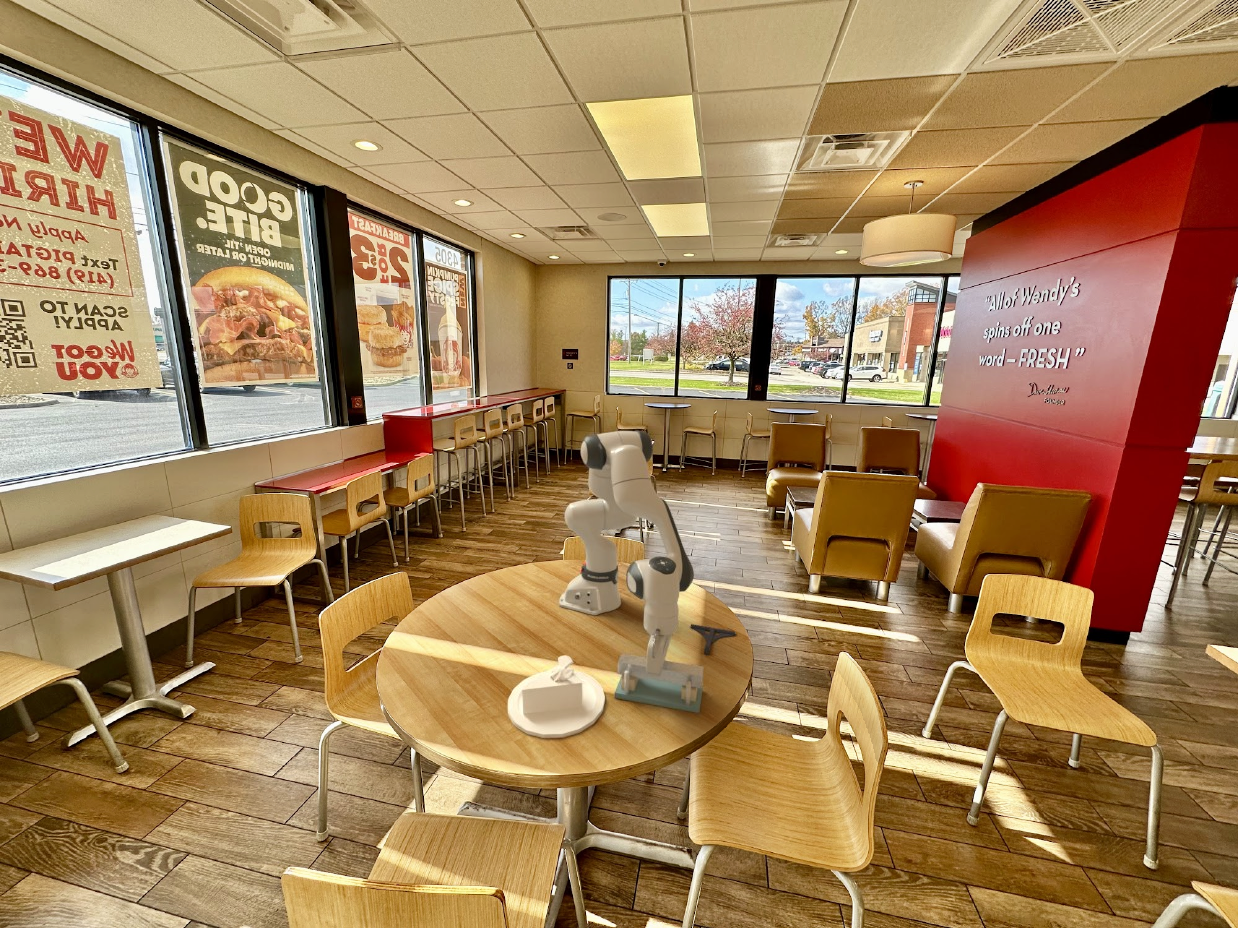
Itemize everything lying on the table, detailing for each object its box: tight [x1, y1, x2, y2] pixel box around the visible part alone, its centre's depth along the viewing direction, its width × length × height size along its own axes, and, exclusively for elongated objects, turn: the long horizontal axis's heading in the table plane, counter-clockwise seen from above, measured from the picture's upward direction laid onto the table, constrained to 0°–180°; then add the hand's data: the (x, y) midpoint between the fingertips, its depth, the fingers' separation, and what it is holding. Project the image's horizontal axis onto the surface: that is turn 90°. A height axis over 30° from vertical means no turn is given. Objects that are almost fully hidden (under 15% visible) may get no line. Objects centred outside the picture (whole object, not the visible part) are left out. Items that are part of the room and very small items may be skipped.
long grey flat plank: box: [617, 653, 704, 688], centre depth 130 cm, size 22×4×4 cm, turn 75°
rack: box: [614, 654, 704, 714], centre depth 130 cm, size 22×9×8 cm, turn 75°
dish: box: [507, 655, 606, 739], centre depth 127 cm, size 25×25×11 cm
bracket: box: [689, 623, 736, 656], centre depth 156 cm, size 14×15×3 cm
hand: (659, 668), depth 130 cm, fingers closed on long grey flat plank, 4 cm apart
